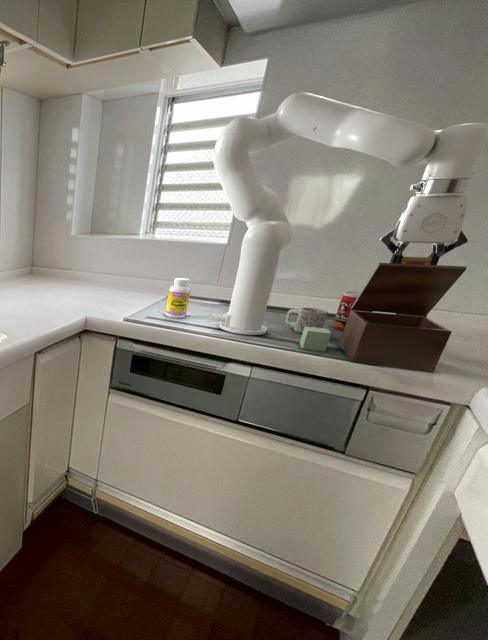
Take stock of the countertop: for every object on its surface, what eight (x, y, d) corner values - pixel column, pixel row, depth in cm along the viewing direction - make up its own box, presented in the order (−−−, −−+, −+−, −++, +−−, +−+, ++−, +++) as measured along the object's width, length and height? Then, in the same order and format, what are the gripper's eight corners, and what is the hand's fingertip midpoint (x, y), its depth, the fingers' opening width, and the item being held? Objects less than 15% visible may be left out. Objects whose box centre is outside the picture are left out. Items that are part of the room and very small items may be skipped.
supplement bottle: (165, 317, 139) (172, 279, 134) (164, 313, 145) (170, 276, 140) (186, 319, 137) (194, 280, 132) (184, 314, 143) (191, 277, 138)
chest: (433, 372, 92) (452, 331, 88) (352, 361, 98) (366, 323, 95) (409, 353, 104) (425, 316, 100) (338, 345, 110) (350, 310, 107)
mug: (325, 332, 121) (332, 310, 119) (314, 335, 118) (321, 313, 116) (288, 324, 129) (294, 304, 127) (278, 327, 126) (283, 307, 124)
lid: (466, 268, 88) (463, 252, 90) (379, 264, 94) (378, 250, 96) (426, 316, 100) (424, 300, 102) (351, 309, 106) (351, 295, 108)
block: (302, 348, 108) (307, 330, 106) (299, 343, 112) (304, 326, 110) (325, 351, 105) (331, 333, 103) (321, 346, 109) (327, 328, 108)
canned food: (325, 325, 128) (337, 291, 124) (351, 325, 128) (363, 291, 124) (344, 332, 121) (357, 296, 117) (372, 332, 121) (385, 296, 117)
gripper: (396, 189, 90) (367, 272, 97) (507, 187, 82) (466, 277, 89) (385, 190, 96) (359, 268, 103) (488, 188, 88) (451, 273, 95)
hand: (409, 271), depth 96 cm, fingers closed on lid, 5 cm apart
